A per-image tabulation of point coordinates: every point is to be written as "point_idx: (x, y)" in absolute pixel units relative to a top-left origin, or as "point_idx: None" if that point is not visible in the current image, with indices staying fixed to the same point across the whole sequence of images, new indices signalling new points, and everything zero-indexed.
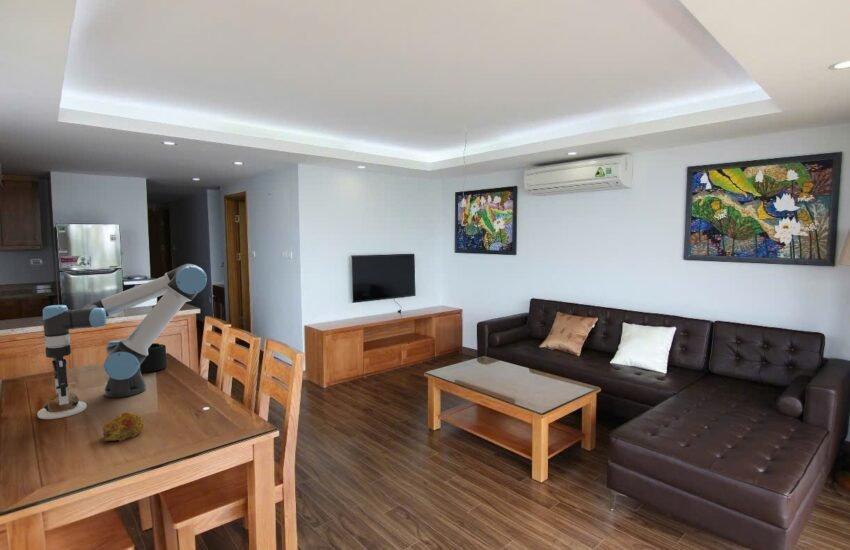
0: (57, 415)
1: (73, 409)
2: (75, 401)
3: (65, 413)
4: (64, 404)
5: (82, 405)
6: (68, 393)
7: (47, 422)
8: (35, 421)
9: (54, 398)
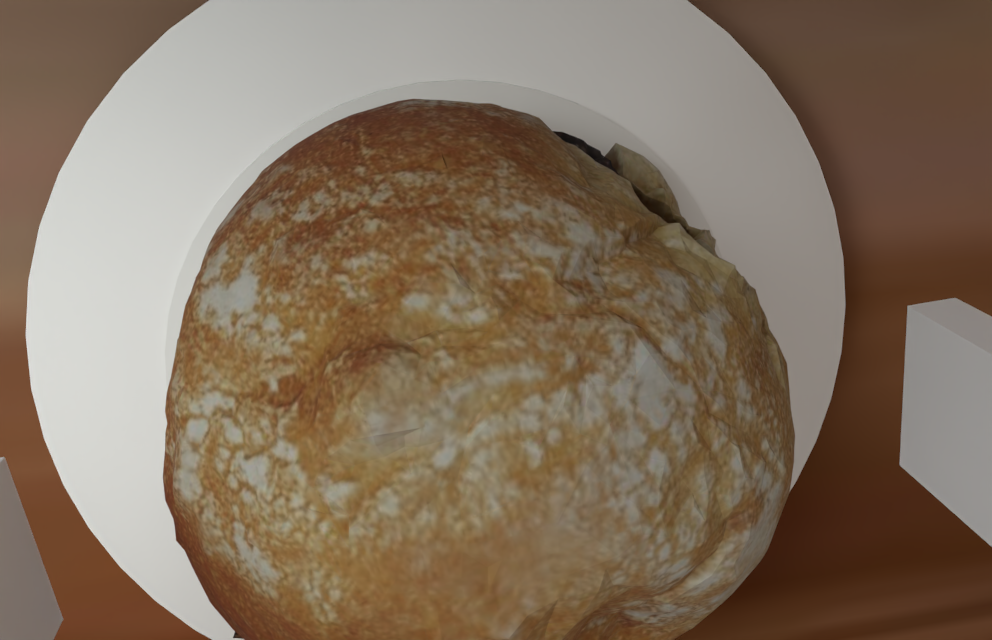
0: (828, 404)
1: (675, 177)
2: (590, 164)
3: (819, 295)
4: (786, 370)
5: (503, 13)
6: (579, 386)
7: (879, 489)
8: (711, 635)
9: (605, 630)
